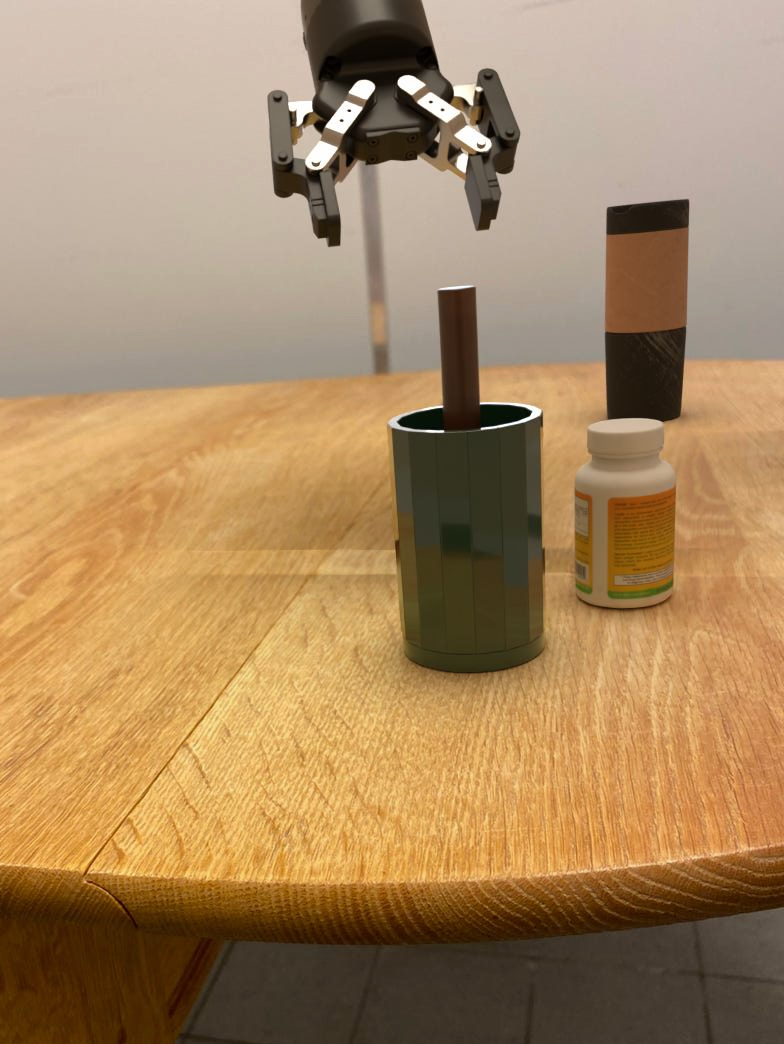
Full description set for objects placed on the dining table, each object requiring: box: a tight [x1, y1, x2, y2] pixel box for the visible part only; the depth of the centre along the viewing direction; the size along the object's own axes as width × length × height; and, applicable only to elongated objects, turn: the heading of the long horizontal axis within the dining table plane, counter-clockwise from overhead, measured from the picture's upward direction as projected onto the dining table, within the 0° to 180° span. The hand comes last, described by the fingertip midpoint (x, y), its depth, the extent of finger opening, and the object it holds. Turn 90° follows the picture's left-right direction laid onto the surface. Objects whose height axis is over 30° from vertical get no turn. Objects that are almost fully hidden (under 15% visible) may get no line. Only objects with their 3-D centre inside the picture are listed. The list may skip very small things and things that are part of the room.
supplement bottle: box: [573, 418, 677, 609], centre depth 59 cm, size 5×5×10 cm
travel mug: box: [604, 198, 690, 422], centre depth 104 cm, size 8×8×20 cm
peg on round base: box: [436, 285, 481, 431], centre depth 53 cm, size 4×4×17 cm
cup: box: [386, 401, 547, 673], centre depth 54 cm, size 7×7×12 cm
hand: (410, 227), depth 59 cm, fingers open, 8 cm apart
